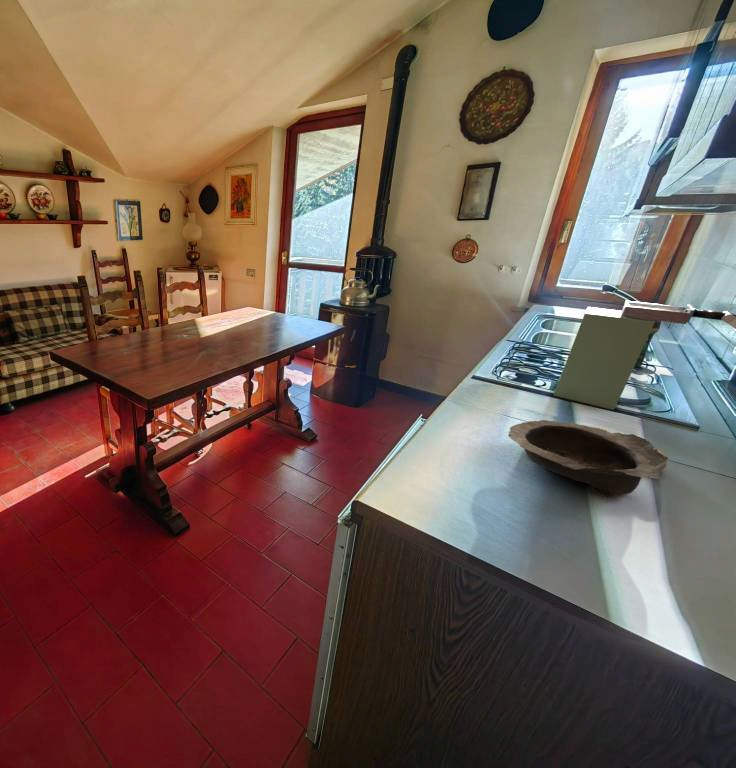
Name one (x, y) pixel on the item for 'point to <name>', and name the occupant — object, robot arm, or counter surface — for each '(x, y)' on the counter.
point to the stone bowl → (590, 454)
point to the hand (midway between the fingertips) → (722, 314)
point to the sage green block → (602, 357)
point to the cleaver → (667, 312)
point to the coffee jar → (647, 343)
